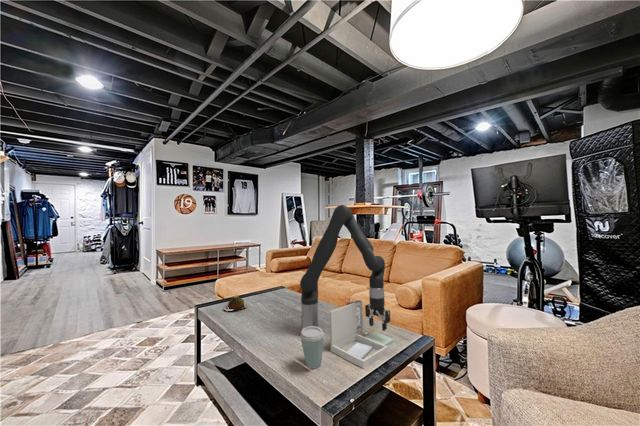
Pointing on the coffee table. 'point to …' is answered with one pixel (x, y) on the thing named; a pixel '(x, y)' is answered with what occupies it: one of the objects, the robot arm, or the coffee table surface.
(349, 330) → the case
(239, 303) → the cactus
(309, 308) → the robot arm
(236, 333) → the coffee table surface
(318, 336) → the disposable coffee cup
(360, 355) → the hard drive
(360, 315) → the disk drive
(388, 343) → the mat
